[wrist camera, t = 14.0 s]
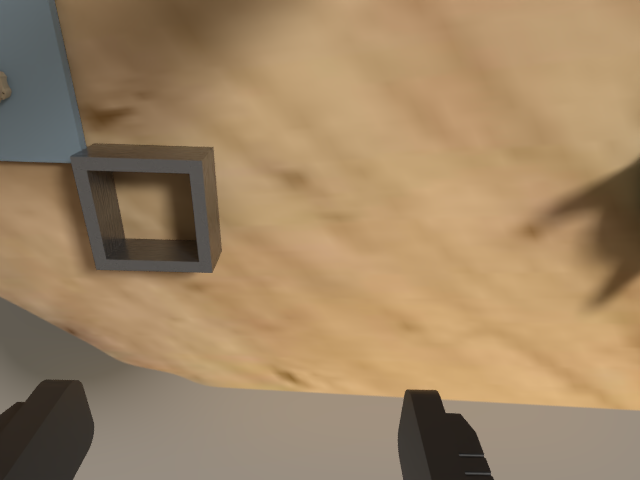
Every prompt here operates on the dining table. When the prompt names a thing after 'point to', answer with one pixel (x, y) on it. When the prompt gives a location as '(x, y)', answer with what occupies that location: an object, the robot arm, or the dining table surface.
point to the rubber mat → (36, 86)
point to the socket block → (105, 215)
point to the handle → (4, 87)
